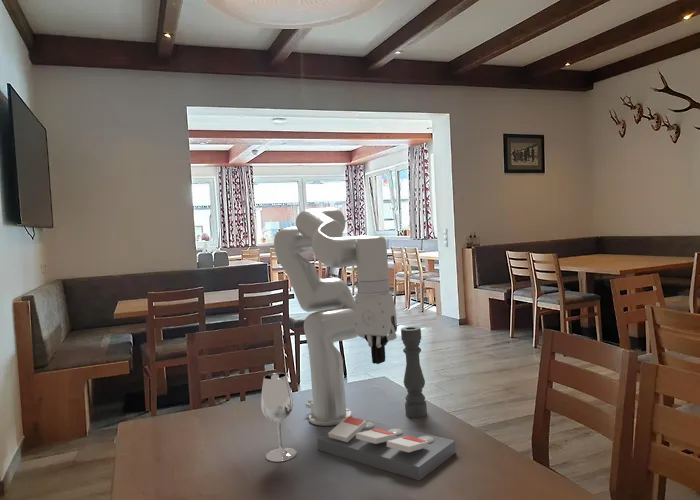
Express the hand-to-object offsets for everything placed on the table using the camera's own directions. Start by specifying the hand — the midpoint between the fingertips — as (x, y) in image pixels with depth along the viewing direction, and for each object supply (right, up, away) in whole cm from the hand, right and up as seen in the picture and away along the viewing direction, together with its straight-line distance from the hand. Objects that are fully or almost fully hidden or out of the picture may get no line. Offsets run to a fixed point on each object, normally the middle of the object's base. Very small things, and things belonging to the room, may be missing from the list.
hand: (378, 362), depth 128 cm
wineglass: (-24, -24, +3) cm, 34 cm away
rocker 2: (-1, -17, -2) cm, 17 cm away
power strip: (0, -22, +2) cm, 22 cm away
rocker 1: (-8, -18, +4) cm, 20 cm away
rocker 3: (+6, -17, -7) cm, 20 cm away
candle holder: (+12, -20, +25) cm, 34 cm away
